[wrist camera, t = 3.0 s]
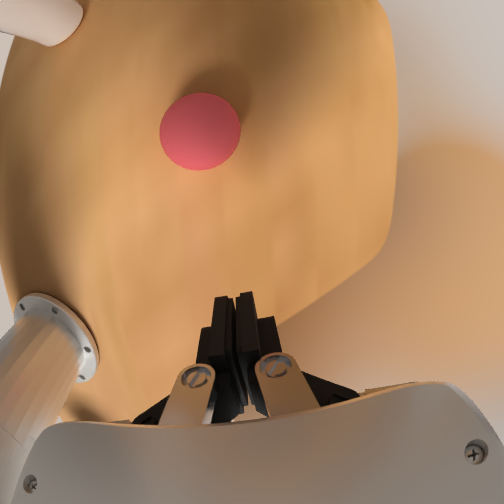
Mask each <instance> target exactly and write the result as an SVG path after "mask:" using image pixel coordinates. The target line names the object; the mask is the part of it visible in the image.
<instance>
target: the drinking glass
mask: <svg viewBox="0 0 504 504" xmlns="http://www.w3.org/2000/svg"><path fill="white" fill-rule="evenodd" d="M82 17H83V9H82V6H81V5H80V4H79V3H78V2H77V1H76V0H0V32H2V33H7V34H11V35H15V36H18V37H22V38H25V39H29V40H32V41H35V42H37V43H39V44H42V45H44V46H55V45H57V44H60V43H61V42H63V41H64V40H66V39H67V38H68V37H69V36H70V35H71V34H72V33H73V32H74V31H75V30H76V29H77V27H78V26H79V24H80V22H81V20H82Z"/></svg>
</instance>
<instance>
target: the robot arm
mask: <svg viewBox="0 0 504 504" xmlns="http://www.w3.org/2000/svg"><path fill="white" fill-rule="evenodd" d="M14 322H15V324H14V325H13V326H12V327H11V328H10V329H9V330H8V332H7V333H6V334H5V335H4V336H3V337H2V338H1V339H0V504H504V446H503V444H502V442H501V441H500V439H499V438H498V436H497V434H496V433H495V431H494V429H493V428H492V426H491V425H490V423H489V422H488V420H487V419H486V418H485V416H484V415H483V413H482V412H481V411H480V409H479V408H478V407H477V406H476V405H475V403H474V402H473V401H472V400H471V399H470V398H469V397H468V396H467V395H466V394H465V393H464V392H463V391H462V390H461V389H459V388H458V387H457V386H455V385H453V384H451V383H447V382H439V381H428V382H409V383H404V384H399V385H393V386H386V387H380V388H373V389H365V391H364V392H363V393H357V392H356V391H354V390H352V389H349V388H346V387H343V386H340V385H337V384H334V383H332V382H329V381H326V380H324V379H321V378H318V377H316V376H313V375H310V374H308V373H305V372H303V371H301V370H300V368H299V366H298V364H297V362H296V360H295V359H294V358H293V357H292V356H291V355H289V354H286V353H283V352H282V349H281V345H280V340H279V336H278V332H277V327H276V323H275V318H274V316H271V317H266V318H260V319H258V318H257V313H256V308H255V303H254V298H253V293H252V291H250V292H245V293H240V297H236V310H235V306H234V302H233V298H229V299H228V296H222V297H216V298H215V301H214V308H213V316H212V324H211V327H204V328H202V329H201V334H200V340H199V346H198V352H197V358H196V364H193V365H190V366H188V367H186V368H184V369H183V370H182V371H181V372H180V373H179V375H178V376H177V379H176V381H175V384H174V386H173V389H172V391H171V394H170V395H168V396H167V397H165V398H164V399H162V400H161V401H160V402H158V403H157V404H155V405H154V406H152V407H151V408H149V409H148V410H146V411H145V412H143V413H142V414H140V415H139V416H138V417H136V418H135V419H134V421H133V422H131V421H130V420H122V421H115V422H92V421H70V422H62V423H58V424H55V422H56V420H57V418H58V416H59V414H60V412H61V410H62V408H63V406H64V404H65V402H66V400H67V398H68V396H69V394H70V392H71V390H72V388H73V386H74V384H75V383H82V382H86V381H88V380H90V379H91V378H92V377H93V376H94V374H95V372H96V370H97V369H98V365H99V354H98V350H97V346H96V344H95V341H94V339H93V337H92V335H91V334H90V332H89V330H88V329H87V327H86V326H85V325H84V323H83V322H82V321H81V320H80V319H79V317H78V316H77V315H76V314H75V313H74V312H73V311H72V310H70V309H69V308H68V307H67V306H66V305H64V304H63V303H62V302H60V301H59V300H57V299H55V298H53V297H51V296H49V295H46V294H43V293H30V294H27V295H26V296H24V297H23V298H22V299H21V300H20V301H19V302H18V303H17V305H16V307H15V311H14ZM247 390H248V391H247ZM248 393H249V397H250V400H251V403H252V405H255V407H256V411H258V412H260V413H261V414H263V415H265V416H267V418H261V419H254V420H246V421H238V422H235V421H234V418H235V417H236V416H237V415H238V414H242V413H244V406H247V405H248Z"/></svg>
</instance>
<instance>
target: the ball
mask: <svg viewBox="0 0 504 504" xmlns="http://www.w3.org/2000/svg"><path fill="white" fill-rule="evenodd" d="M240 131H241V129H240V122H239V118H238V115H237V113H236V111H235V110H234V108H233V107H232V106H231V105H230V104H229V103H228V102H227V101H226V100H224V99H223V98H221V97H219V96H217V95H214V94H210V93H193V94H189V95H187V96H184V97H182V98H180V99H179V100H177V101H176V102H174V103H173V104H172V105H171V106H170V107H169V109H168V110H167V111H166V113H165V114H164V117H163V119H162V121H161V125H160V141H161V145H162V147H163V149H164V151H165V153H166V154H167V156H168V157H169V158H170V159H171V160H172V161H173V162H174V163H176V164H177V165H179V166H181V167H183V168H186V169H190V170H207V169H211V168H214V167H216V166H218V165H220V164H222V163H223V162H224V161H226V160H227V159H228V158H229V157H230V156H231V155H232V153H233V152H234V150H235V149H236V147H237V145H238V142H239V138H240Z"/></svg>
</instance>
